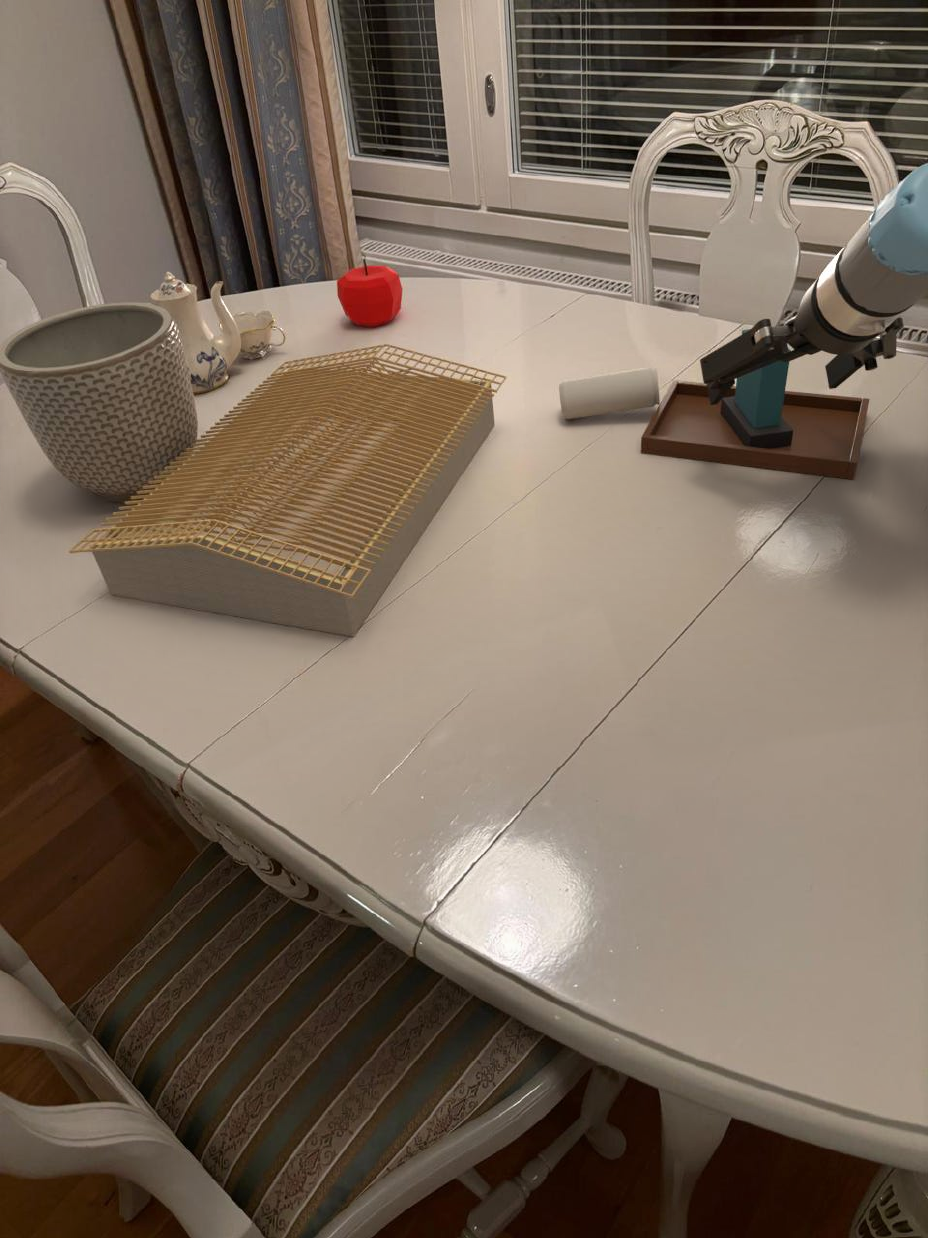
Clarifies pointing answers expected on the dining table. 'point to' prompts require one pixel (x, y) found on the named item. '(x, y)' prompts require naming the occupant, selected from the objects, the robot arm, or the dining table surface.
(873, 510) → the dining table surface
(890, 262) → the robot arm
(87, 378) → the planter
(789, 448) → the tray
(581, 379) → the beverage can
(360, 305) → the apple
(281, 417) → the roof frame
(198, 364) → the chinaware
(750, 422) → the teal block on base
